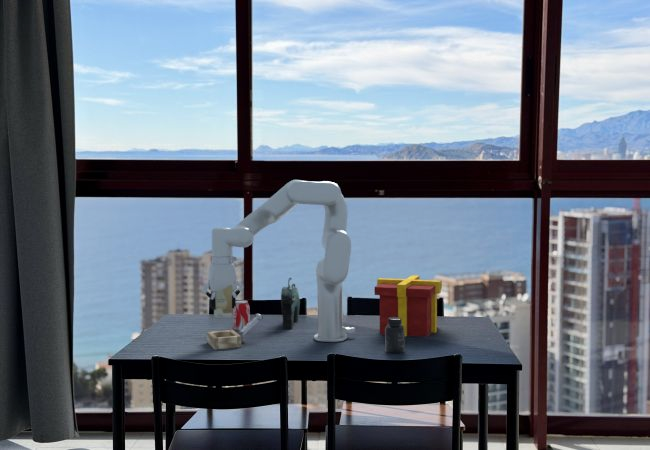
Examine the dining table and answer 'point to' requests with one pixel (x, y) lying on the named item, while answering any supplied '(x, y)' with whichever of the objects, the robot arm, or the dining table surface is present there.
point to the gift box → (409, 304)
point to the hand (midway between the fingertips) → (223, 308)
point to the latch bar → (251, 323)
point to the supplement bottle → (394, 336)
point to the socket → (223, 339)
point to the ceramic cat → (290, 305)
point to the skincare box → (223, 303)
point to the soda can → (240, 315)
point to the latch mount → (240, 334)
